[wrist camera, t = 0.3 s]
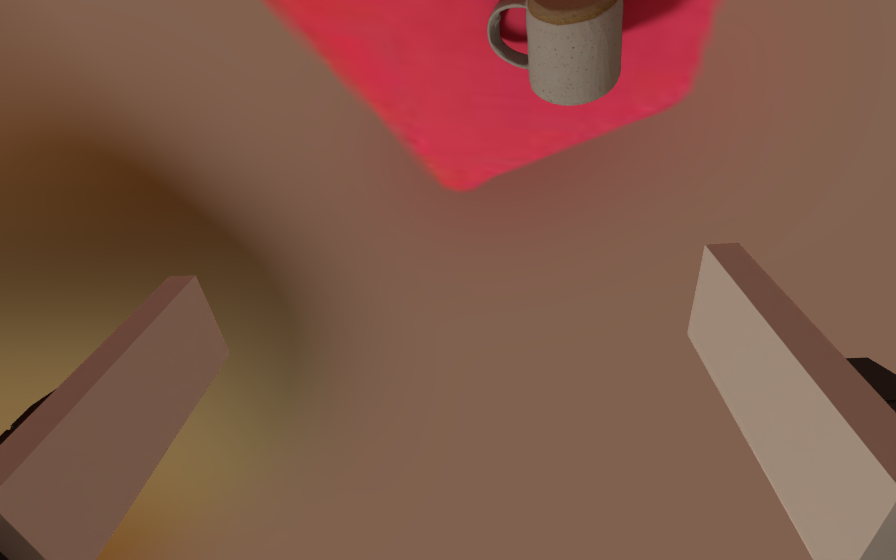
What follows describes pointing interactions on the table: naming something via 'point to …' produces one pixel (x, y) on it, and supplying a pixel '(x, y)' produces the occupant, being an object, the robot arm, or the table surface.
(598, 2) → the ceramic mug
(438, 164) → the table surface
